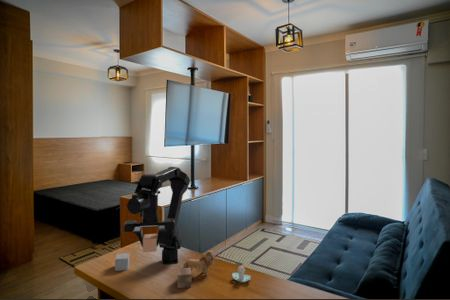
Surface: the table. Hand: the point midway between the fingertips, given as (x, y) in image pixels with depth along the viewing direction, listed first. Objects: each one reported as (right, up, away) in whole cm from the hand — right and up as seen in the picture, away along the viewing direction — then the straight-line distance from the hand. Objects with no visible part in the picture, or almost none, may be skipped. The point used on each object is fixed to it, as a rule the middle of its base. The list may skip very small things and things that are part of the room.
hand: (150, 246), depth 106 cm
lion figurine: (+18, -13, +5) cm, 23 cm away
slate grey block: (-14, -12, +9) cm, 21 cm away
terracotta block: (0, -1, 0) cm, 1 cm away
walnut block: (+14, -14, -2) cm, 19 cm away
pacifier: (+36, -14, +1) cm, 39 cm away
